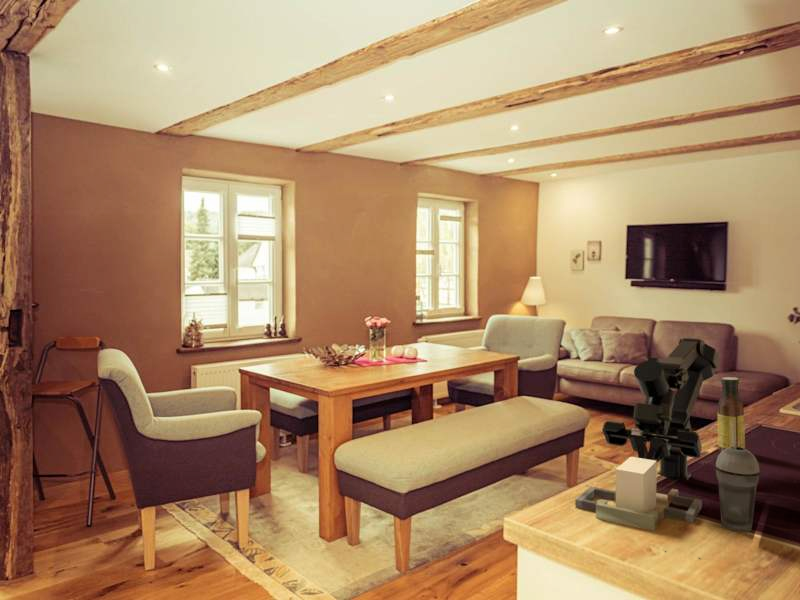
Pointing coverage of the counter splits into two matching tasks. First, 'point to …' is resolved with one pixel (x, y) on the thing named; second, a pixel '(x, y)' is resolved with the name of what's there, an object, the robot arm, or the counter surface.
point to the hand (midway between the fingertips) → (642, 474)
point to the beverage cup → (737, 486)
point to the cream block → (636, 484)
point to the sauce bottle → (730, 415)
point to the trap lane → (636, 517)
